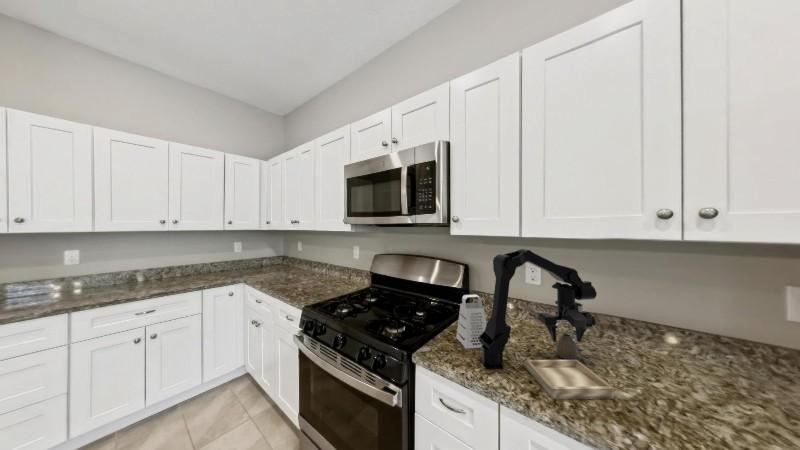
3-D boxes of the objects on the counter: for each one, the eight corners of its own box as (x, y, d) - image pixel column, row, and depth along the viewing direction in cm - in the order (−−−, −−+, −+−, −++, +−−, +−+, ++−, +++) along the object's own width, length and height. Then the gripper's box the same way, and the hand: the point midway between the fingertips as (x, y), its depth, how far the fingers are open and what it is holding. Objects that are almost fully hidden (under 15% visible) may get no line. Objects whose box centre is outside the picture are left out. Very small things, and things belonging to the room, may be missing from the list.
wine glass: (586, 341, 110) (586, 306, 110) (566, 340, 112) (565, 305, 112) (577, 333, 118) (577, 301, 118) (558, 332, 120) (558, 300, 120)
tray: (552, 399, 74) (552, 388, 74) (525, 368, 90) (525, 360, 90) (614, 398, 74) (614, 388, 74) (576, 368, 90) (576, 359, 90)
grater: (489, 346, 107) (489, 298, 107) (465, 348, 105) (465, 299, 105) (478, 335, 117) (477, 292, 117) (456, 337, 116) (455, 293, 116)
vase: (578, 364, 92) (578, 340, 92) (556, 359, 96) (555, 336, 96) (577, 356, 98) (577, 333, 98) (556, 351, 102) (556, 329, 102)
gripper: (554, 307, 89) (554, 352, 89) (607, 306, 89) (608, 351, 89) (537, 298, 100) (537, 338, 100) (584, 297, 100) (585, 337, 100)
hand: (566, 341), depth 97 cm, fingers open, 9 cm apart
